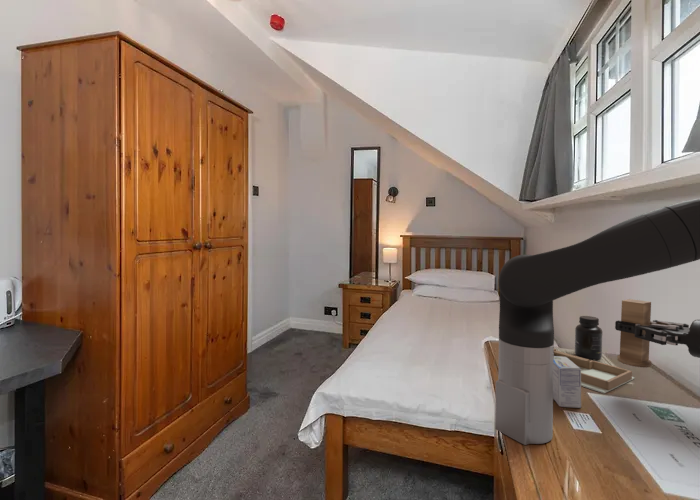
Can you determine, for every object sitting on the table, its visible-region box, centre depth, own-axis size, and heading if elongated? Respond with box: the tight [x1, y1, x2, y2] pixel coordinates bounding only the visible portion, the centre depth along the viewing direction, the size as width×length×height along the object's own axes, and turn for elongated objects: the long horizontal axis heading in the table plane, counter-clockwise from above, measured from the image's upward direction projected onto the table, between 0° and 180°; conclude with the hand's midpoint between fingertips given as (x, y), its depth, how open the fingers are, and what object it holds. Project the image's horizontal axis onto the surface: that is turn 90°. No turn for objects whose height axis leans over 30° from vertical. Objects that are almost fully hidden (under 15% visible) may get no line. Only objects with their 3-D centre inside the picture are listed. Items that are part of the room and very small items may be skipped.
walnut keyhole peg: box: [616, 298, 652, 368], centre depth 79 cm, size 6×6×14 cm
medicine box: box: [553, 356, 582, 409], centre depth 78 cm, size 8×4×9 cm, turn 168°
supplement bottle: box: [574, 315, 603, 361], centre depth 105 cm, size 7×7×12 cm
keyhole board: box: [554, 348, 636, 395], centre depth 93 cm, size 16×19×3 cm
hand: (620, 323), depth 81 cm, fingers closed on walnut keyhole peg, 4 cm apart
